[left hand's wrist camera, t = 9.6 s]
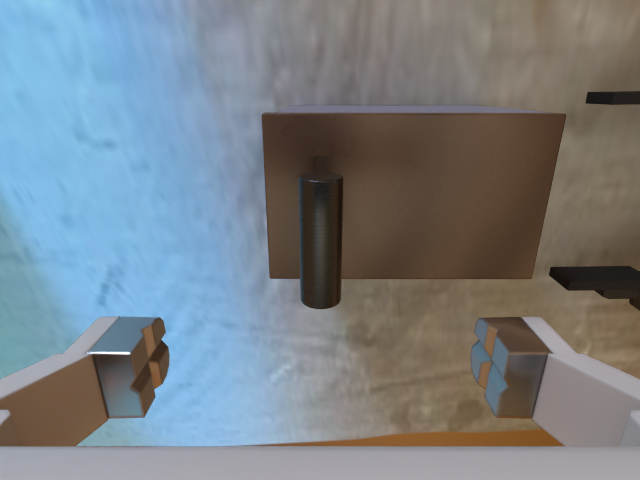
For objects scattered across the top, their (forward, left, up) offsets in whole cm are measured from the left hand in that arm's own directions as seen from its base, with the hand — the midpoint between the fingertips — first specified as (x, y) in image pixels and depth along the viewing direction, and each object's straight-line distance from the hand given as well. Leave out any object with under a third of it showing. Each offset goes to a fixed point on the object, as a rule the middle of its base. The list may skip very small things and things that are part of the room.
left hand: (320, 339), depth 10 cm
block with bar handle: (+5, -1, -15) cm, 15 cm away
